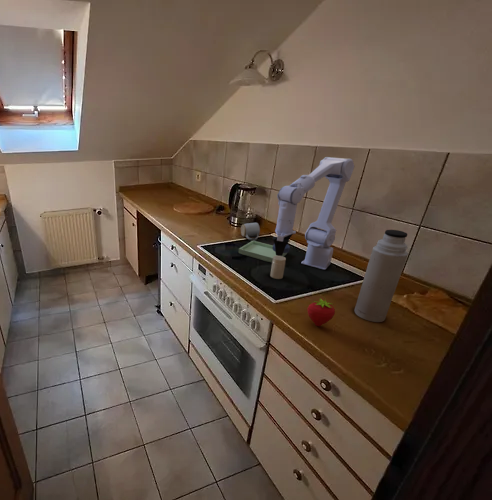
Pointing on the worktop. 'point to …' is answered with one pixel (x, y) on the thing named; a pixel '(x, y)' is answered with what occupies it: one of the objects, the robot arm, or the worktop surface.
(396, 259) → the thermos bottle
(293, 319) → the worktop surface
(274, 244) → the jar lid
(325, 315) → the strawberry
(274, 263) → the jar
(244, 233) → the ceramic mug
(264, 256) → the tray
